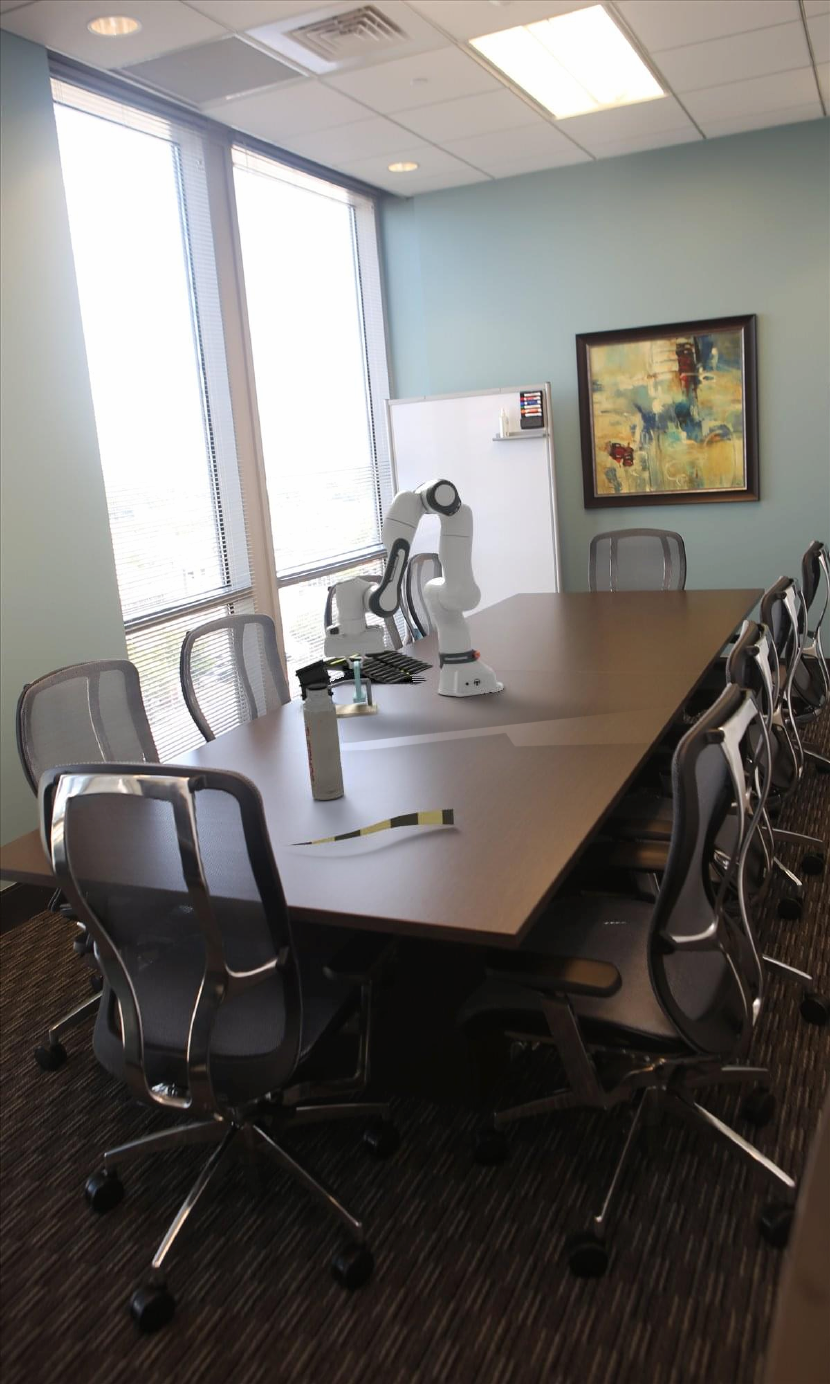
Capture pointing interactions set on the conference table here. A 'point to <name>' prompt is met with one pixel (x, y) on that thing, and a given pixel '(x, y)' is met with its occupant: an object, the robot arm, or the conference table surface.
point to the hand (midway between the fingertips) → (356, 667)
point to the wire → (368, 682)
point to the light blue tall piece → (358, 686)
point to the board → (355, 710)
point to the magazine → (313, 677)
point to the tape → (397, 824)
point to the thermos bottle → (323, 744)
